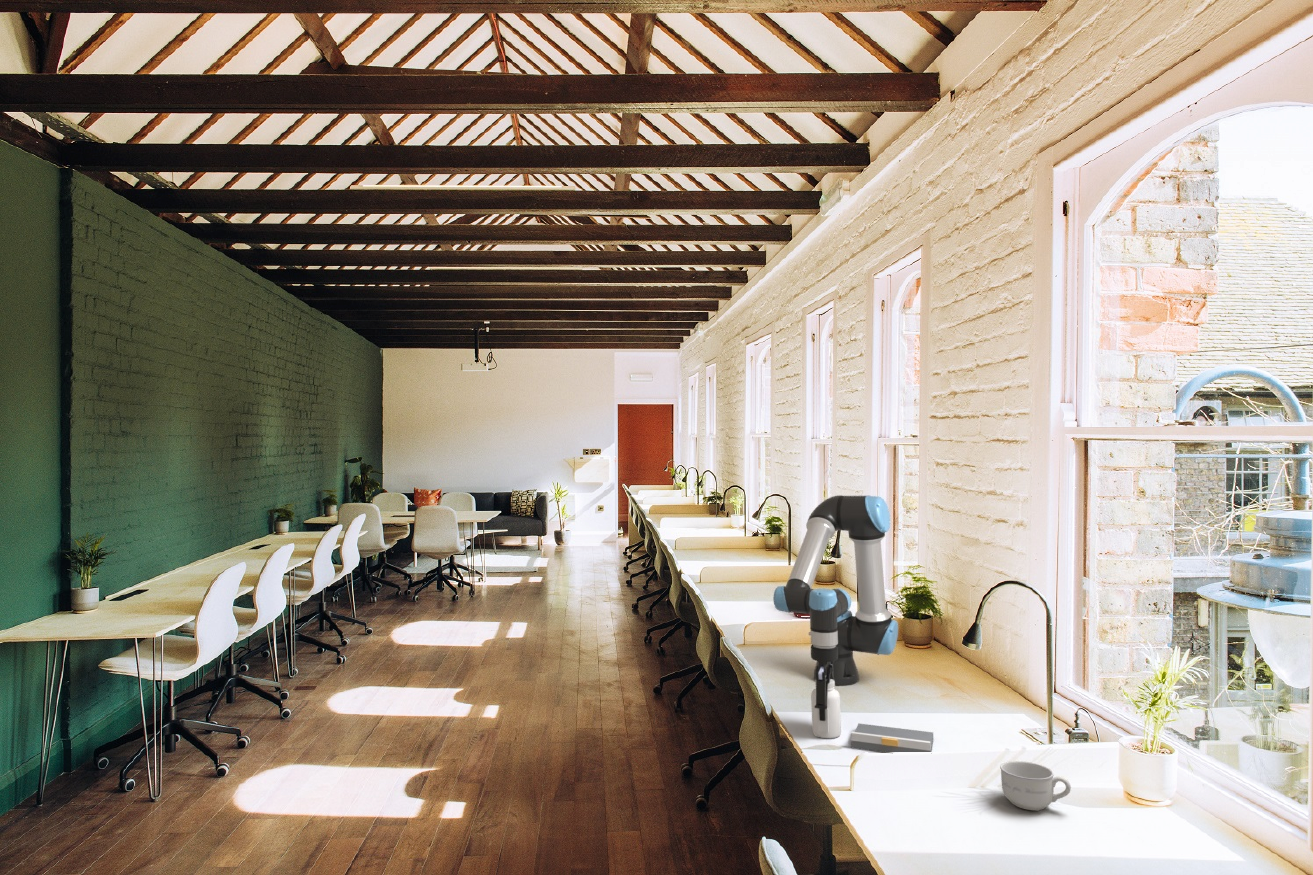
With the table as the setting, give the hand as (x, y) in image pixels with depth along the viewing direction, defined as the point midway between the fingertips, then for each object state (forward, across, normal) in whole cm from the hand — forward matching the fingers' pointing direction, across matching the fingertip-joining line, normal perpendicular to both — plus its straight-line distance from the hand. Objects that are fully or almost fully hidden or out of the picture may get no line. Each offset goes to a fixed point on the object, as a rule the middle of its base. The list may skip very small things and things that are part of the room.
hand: (826, 725), depth 211 cm
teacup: (+3, +26, +51) cm, 57 cm away
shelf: (+2, +1, +18) cm, 18 cm away
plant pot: (+3, -139, -36) cm, 144 cm away
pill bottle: (+2, 0, 0) cm, 2 cm away
